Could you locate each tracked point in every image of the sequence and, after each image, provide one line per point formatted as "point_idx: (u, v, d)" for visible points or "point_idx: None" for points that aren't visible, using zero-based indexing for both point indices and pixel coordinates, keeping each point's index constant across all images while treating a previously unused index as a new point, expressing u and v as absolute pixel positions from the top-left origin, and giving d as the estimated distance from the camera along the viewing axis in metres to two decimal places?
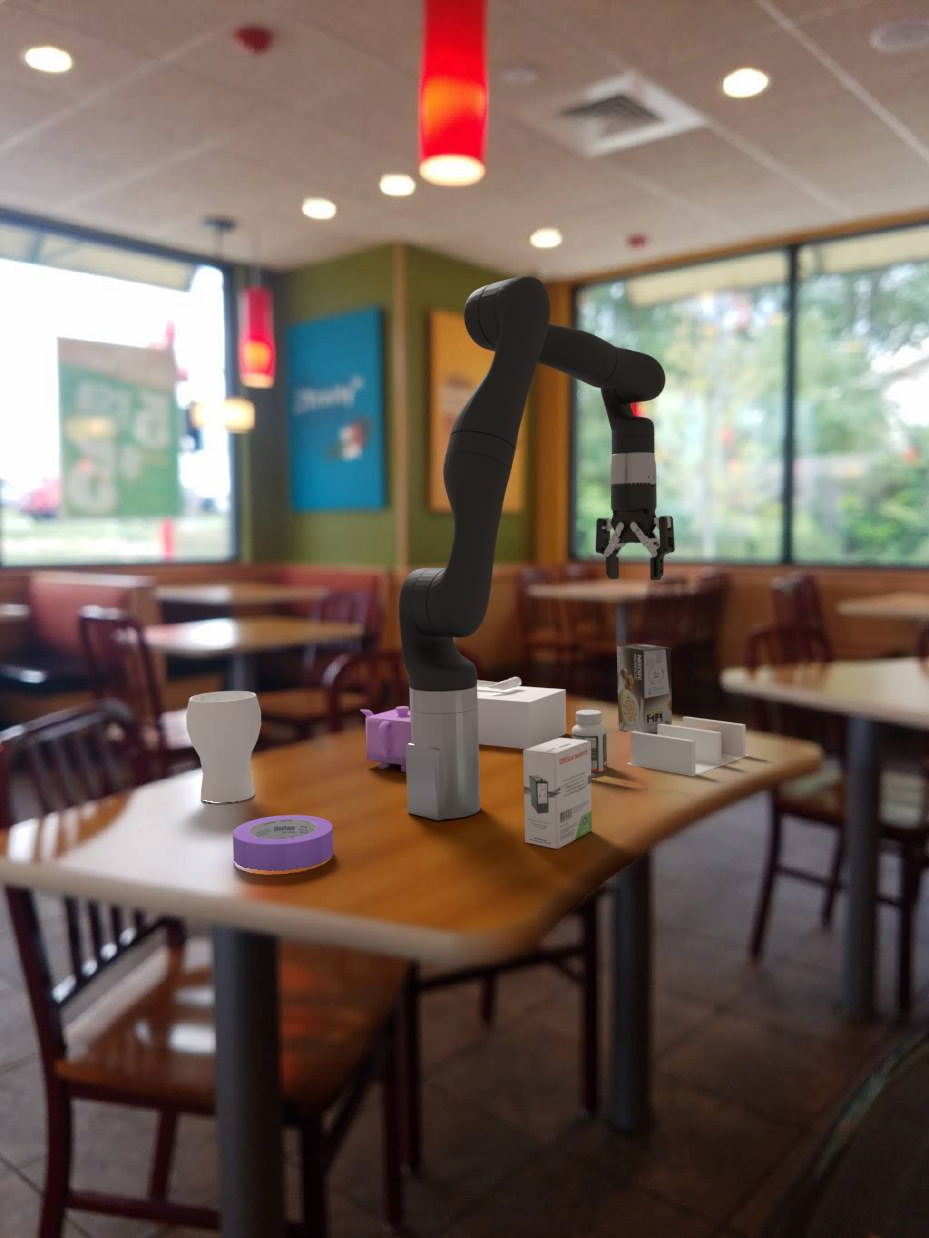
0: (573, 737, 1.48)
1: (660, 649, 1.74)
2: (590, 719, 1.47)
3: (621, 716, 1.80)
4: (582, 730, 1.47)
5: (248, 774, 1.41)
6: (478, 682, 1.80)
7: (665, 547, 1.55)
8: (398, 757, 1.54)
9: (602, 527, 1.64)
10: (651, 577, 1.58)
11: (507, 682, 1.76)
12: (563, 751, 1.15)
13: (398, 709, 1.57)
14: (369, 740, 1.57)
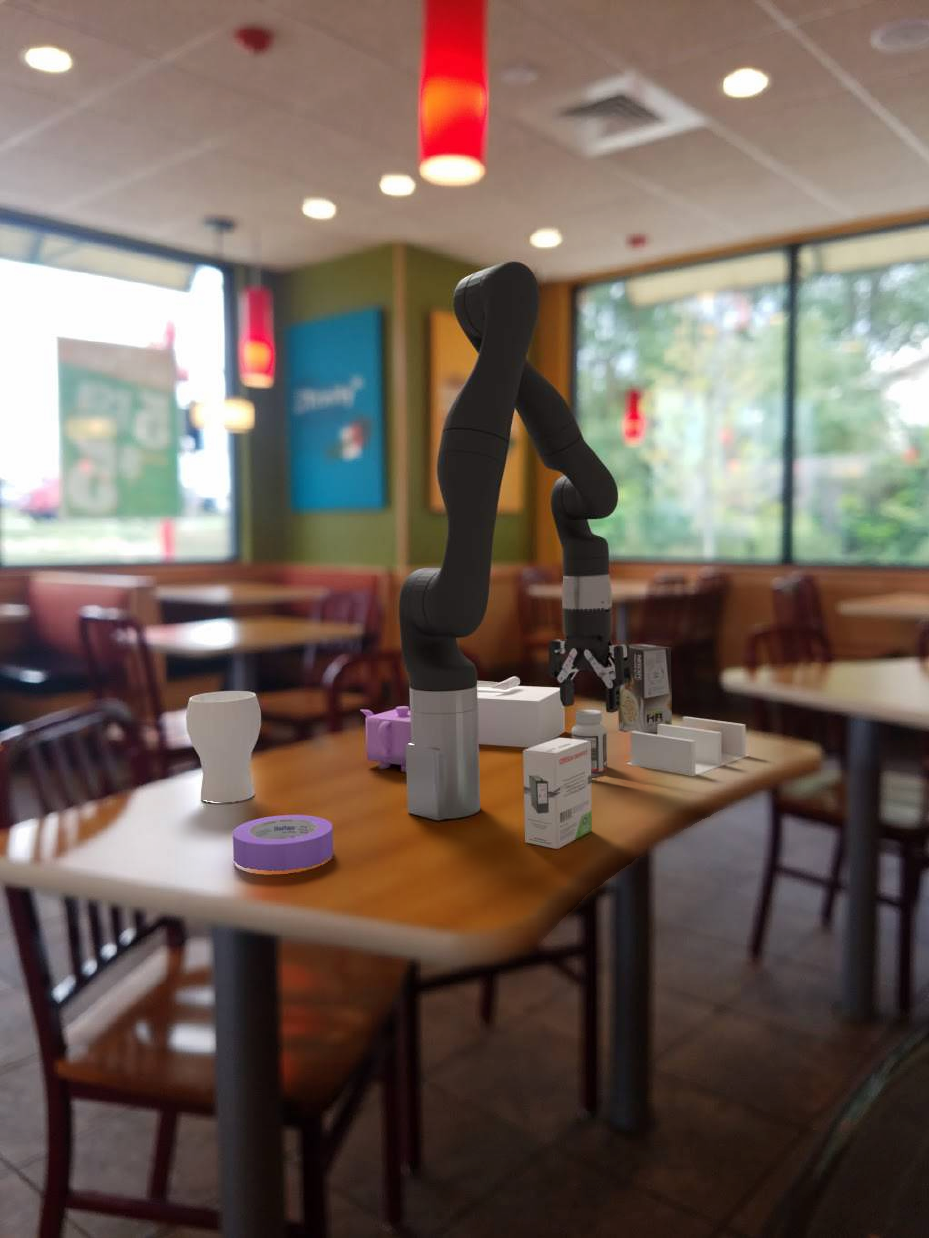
0: (573, 737, 1.48)
1: (660, 649, 1.74)
2: (590, 719, 1.47)
3: (621, 716, 1.80)
4: (582, 730, 1.47)
5: (248, 774, 1.41)
6: (478, 682, 1.79)
7: (621, 679, 1.43)
8: (398, 757, 1.54)
9: (555, 650, 1.51)
10: (607, 709, 1.45)
11: (509, 682, 1.77)
12: (563, 751, 1.15)
13: (398, 709, 1.57)
14: (369, 740, 1.57)
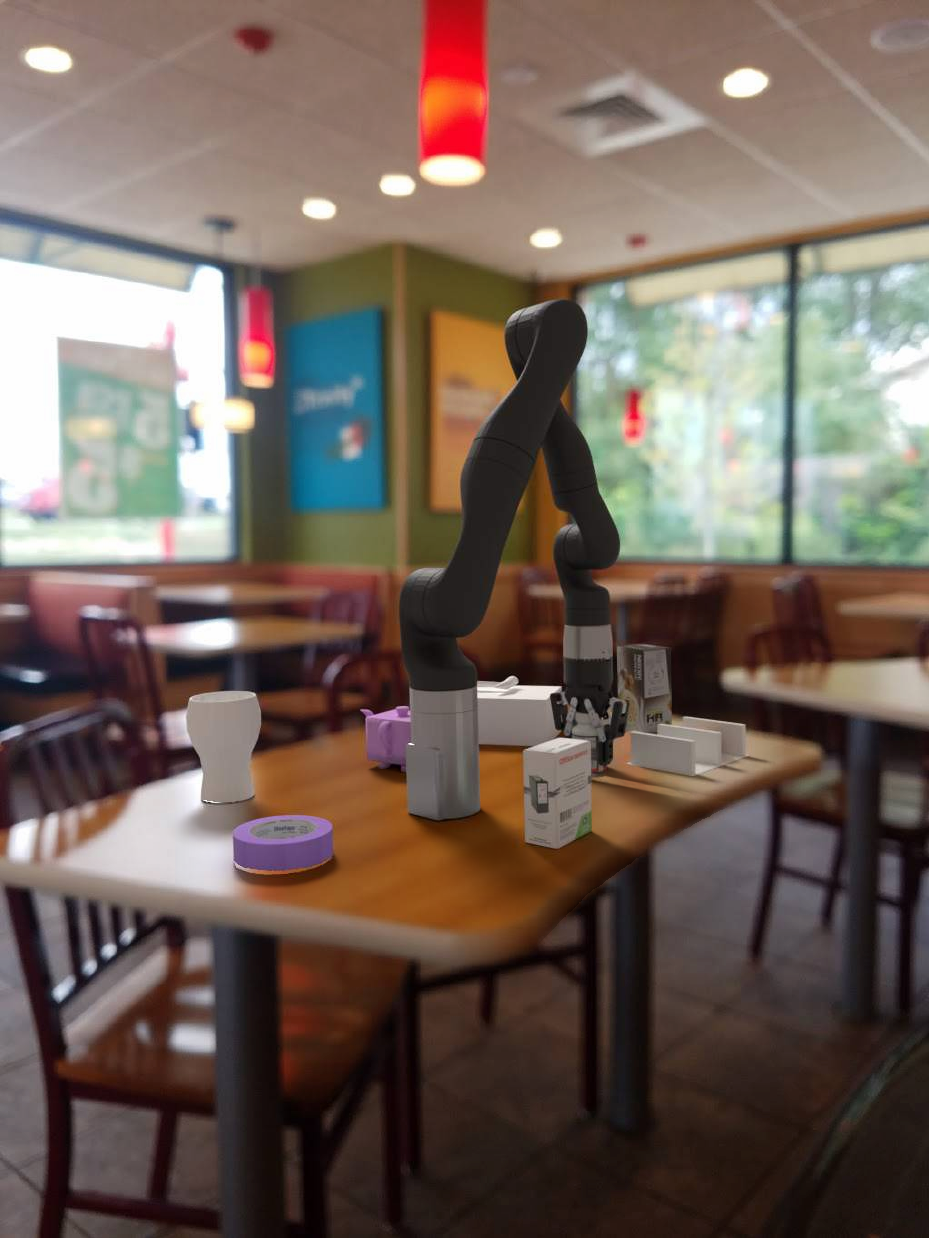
0: (573, 737, 1.48)
1: (660, 649, 1.74)
2: (590, 719, 1.47)
3: None
4: (581, 730, 1.47)
5: (248, 774, 1.41)
6: (477, 683, 1.79)
7: (614, 733, 1.44)
8: (398, 757, 1.54)
9: (557, 702, 1.52)
10: (600, 762, 1.47)
11: (510, 681, 1.77)
12: (563, 751, 1.15)
13: (398, 709, 1.57)
14: (369, 740, 1.57)
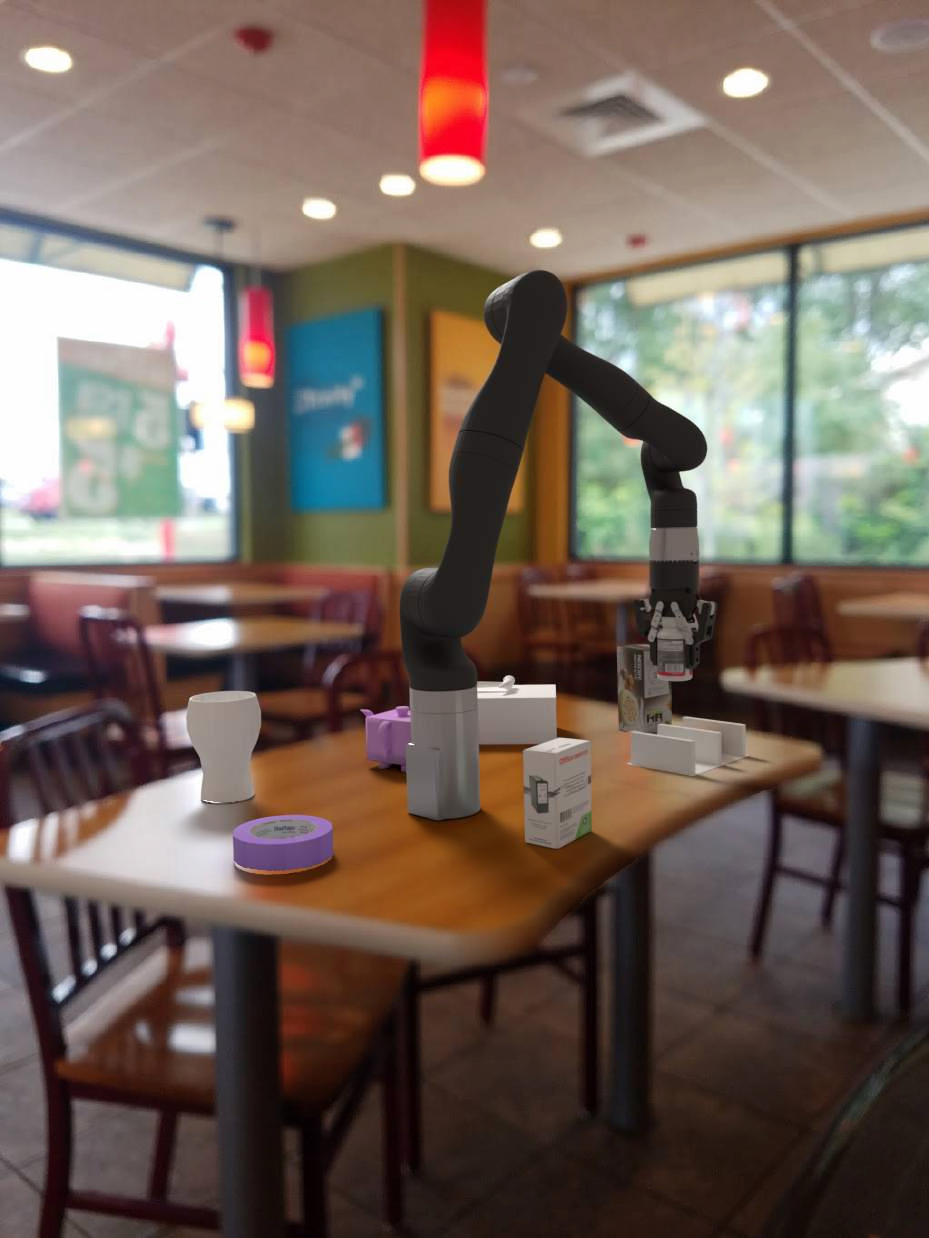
0: (659, 641, 1.48)
1: None
2: (677, 623, 1.47)
3: (621, 716, 1.80)
4: (668, 633, 1.47)
5: (248, 774, 1.41)
6: (477, 683, 1.79)
7: (702, 635, 1.44)
8: (398, 757, 1.54)
9: (641, 608, 1.51)
10: (686, 666, 1.46)
11: (511, 681, 1.78)
12: (563, 751, 1.15)
13: (398, 709, 1.57)
14: (369, 740, 1.57)
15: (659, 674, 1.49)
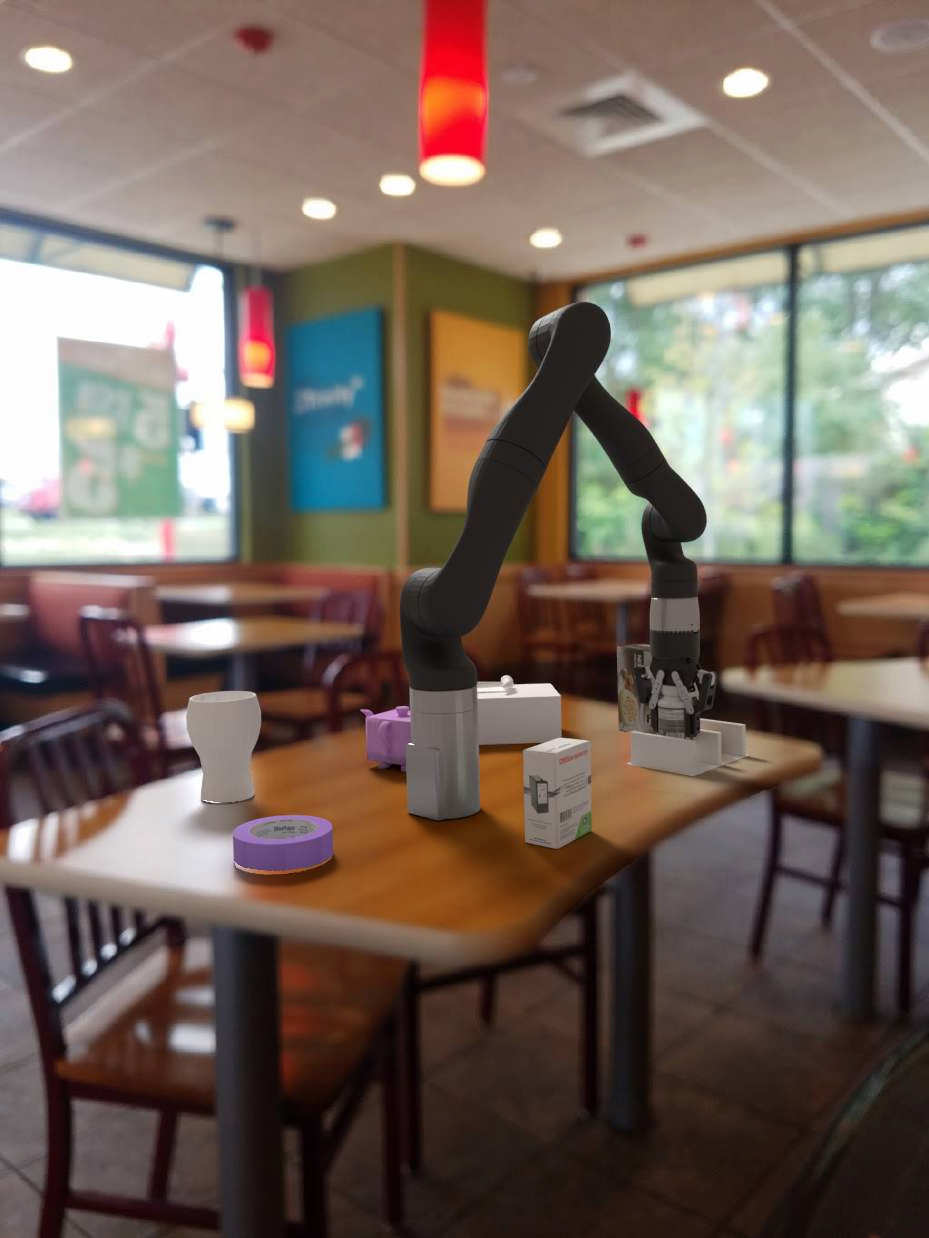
0: (660, 709, 1.49)
1: None
2: None
3: (621, 716, 1.80)
4: (669, 702, 1.48)
5: (248, 774, 1.41)
6: (478, 683, 1.78)
7: (703, 705, 1.45)
8: (398, 757, 1.54)
9: (641, 675, 1.52)
10: (687, 735, 1.47)
11: (511, 680, 1.78)
12: (563, 751, 1.15)
13: (398, 709, 1.57)
14: (369, 740, 1.57)
15: None
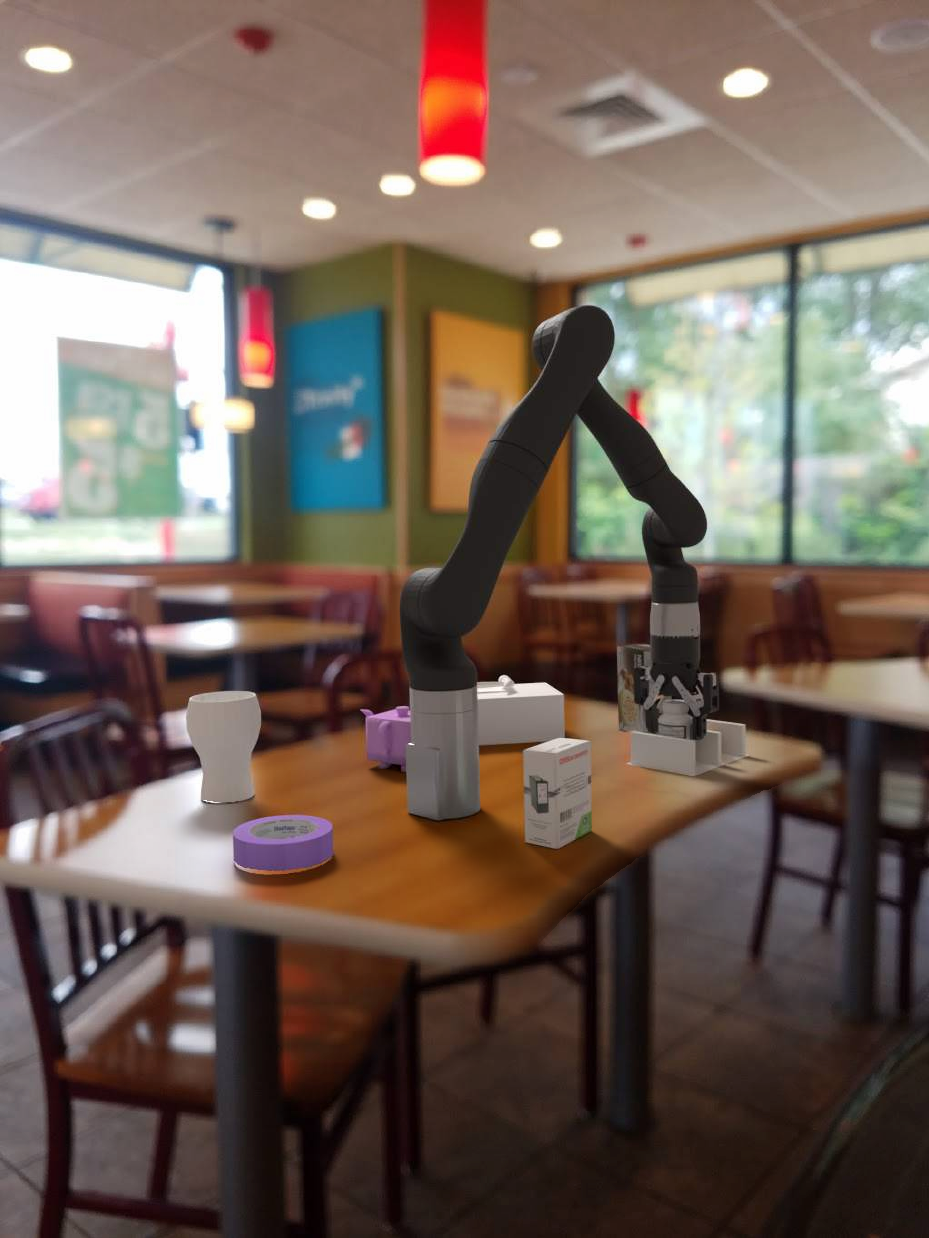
0: (660, 726, 1.49)
1: None
2: (678, 709, 1.48)
3: (621, 716, 1.80)
4: (670, 719, 1.48)
5: (248, 774, 1.41)
6: (478, 684, 1.78)
7: (709, 707, 1.44)
8: (398, 757, 1.54)
9: (640, 677, 1.52)
10: (693, 737, 1.47)
11: None
12: (563, 751, 1.15)
13: (398, 709, 1.57)
14: (369, 740, 1.57)
15: None
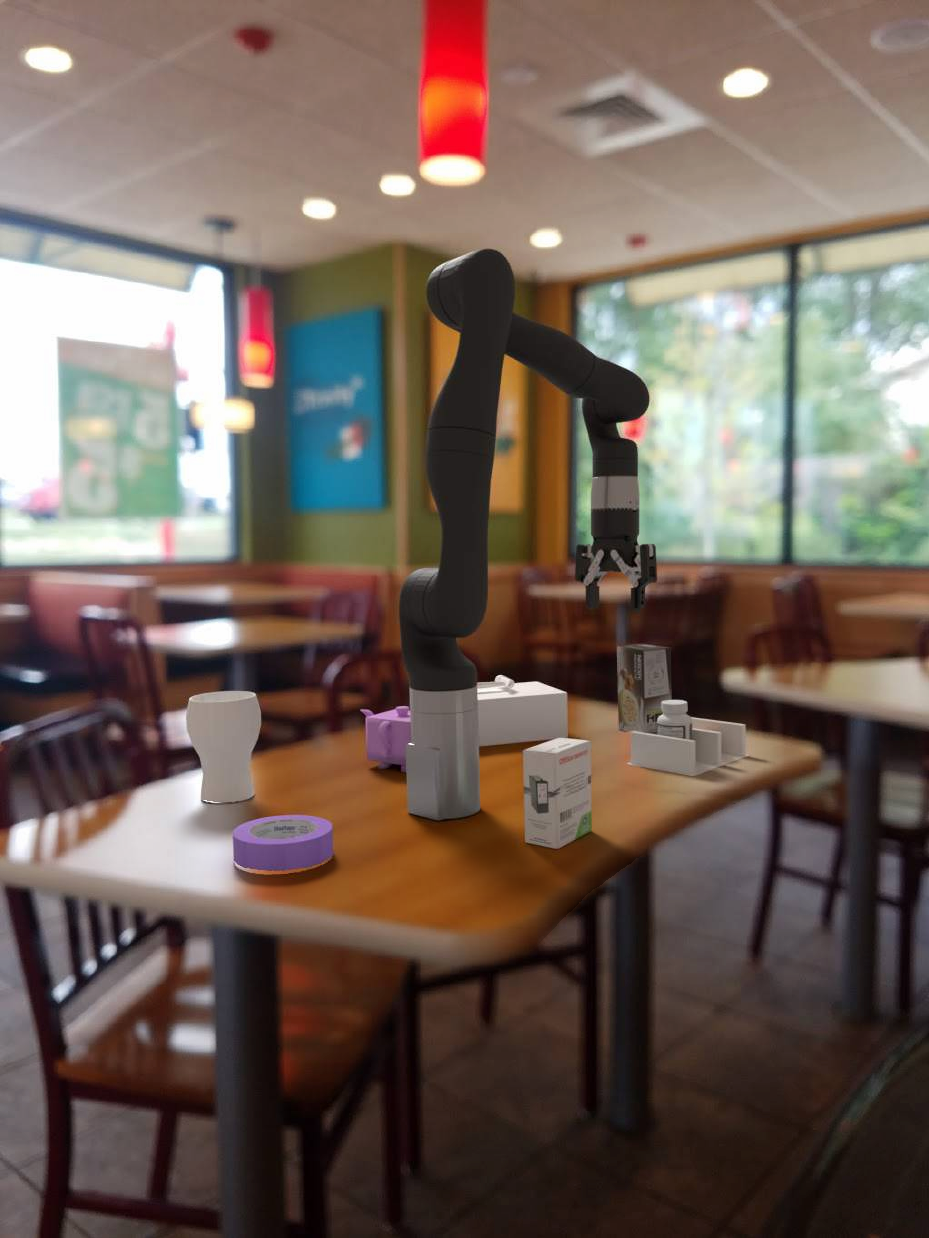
0: (659, 727, 1.49)
1: (660, 649, 1.74)
2: (677, 709, 1.48)
3: (621, 716, 1.80)
4: (669, 720, 1.48)
5: (248, 774, 1.41)
6: (480, 684, 1.77)
7: (646, 577, 1.45)
8: (398, 757, 1.54)
9: (582, 554, 1.54)
10: (631, 609, 1.48)
11: None
12: (563, 751, 1.15)
13: (398, 709, 1.57)
14: (369, 740, 1.57)
15: None
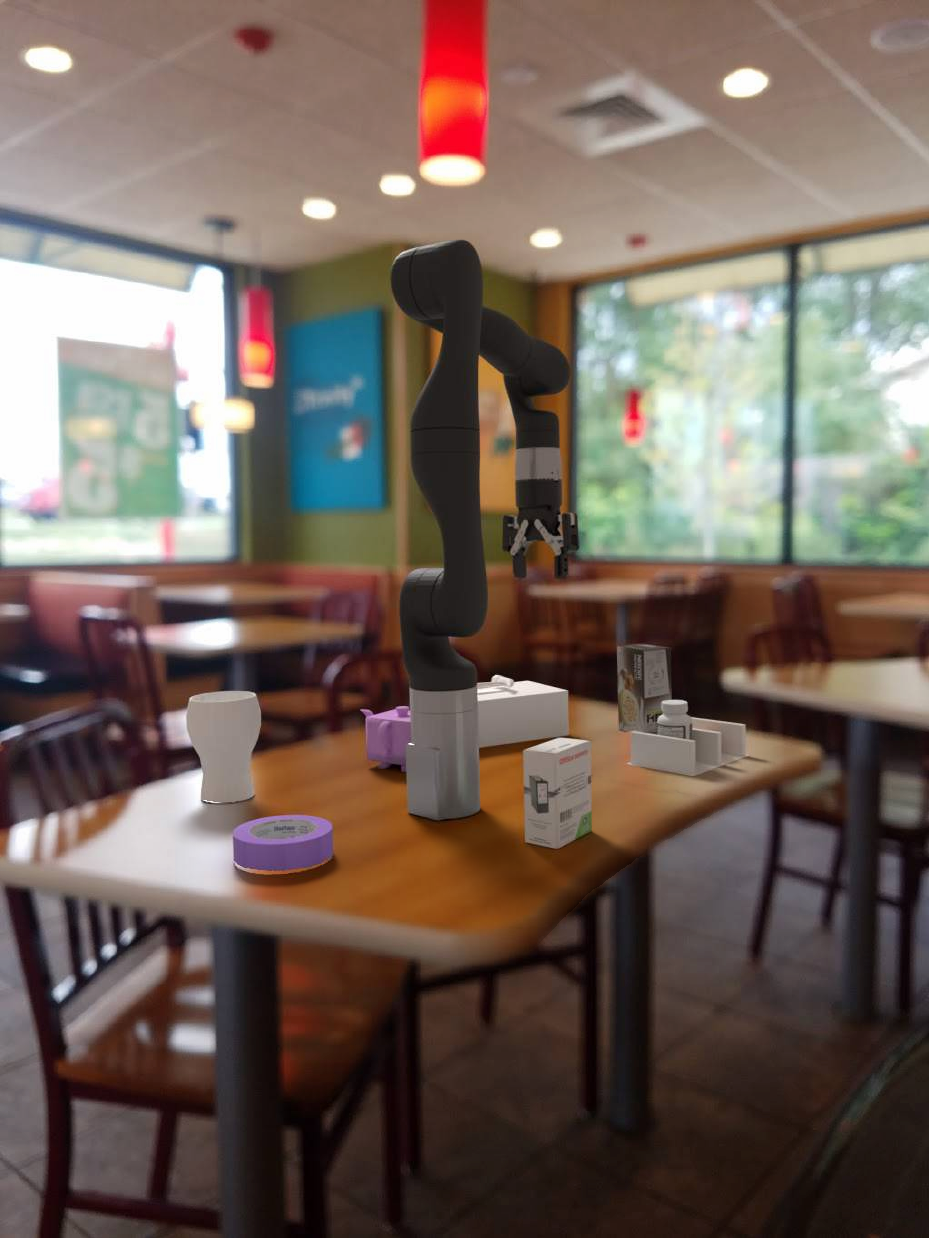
0: (659, 727, 1.49)
1: (660, 649, 1.74)
2: (677, 709, 1.48)
3: (621, 716, 1.80)
4: (669, 720, 1.48)
5: (248, 774, 1.41)
6: (481, 684, 1.77)
7: (568, 545, 1.50)
8: (398, 757, 1.54)
9: (508, 524, 1.58)
10: (555, 576, 1.52)
11: None
12: (563, 751, 1.15)
13: (398, 709, 1.57)
14: (369, 740, 1.57)
15: None
